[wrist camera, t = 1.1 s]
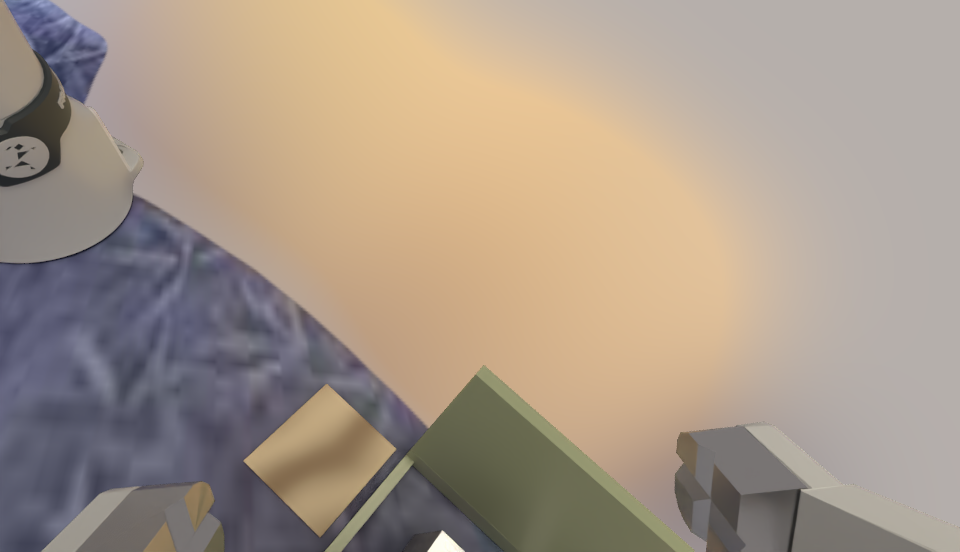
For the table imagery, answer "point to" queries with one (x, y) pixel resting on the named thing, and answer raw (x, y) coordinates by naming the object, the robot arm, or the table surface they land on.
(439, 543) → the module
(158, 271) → the table surface
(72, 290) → the table surface
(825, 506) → the robot arm
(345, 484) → the pad
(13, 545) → the table surface
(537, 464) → the case
